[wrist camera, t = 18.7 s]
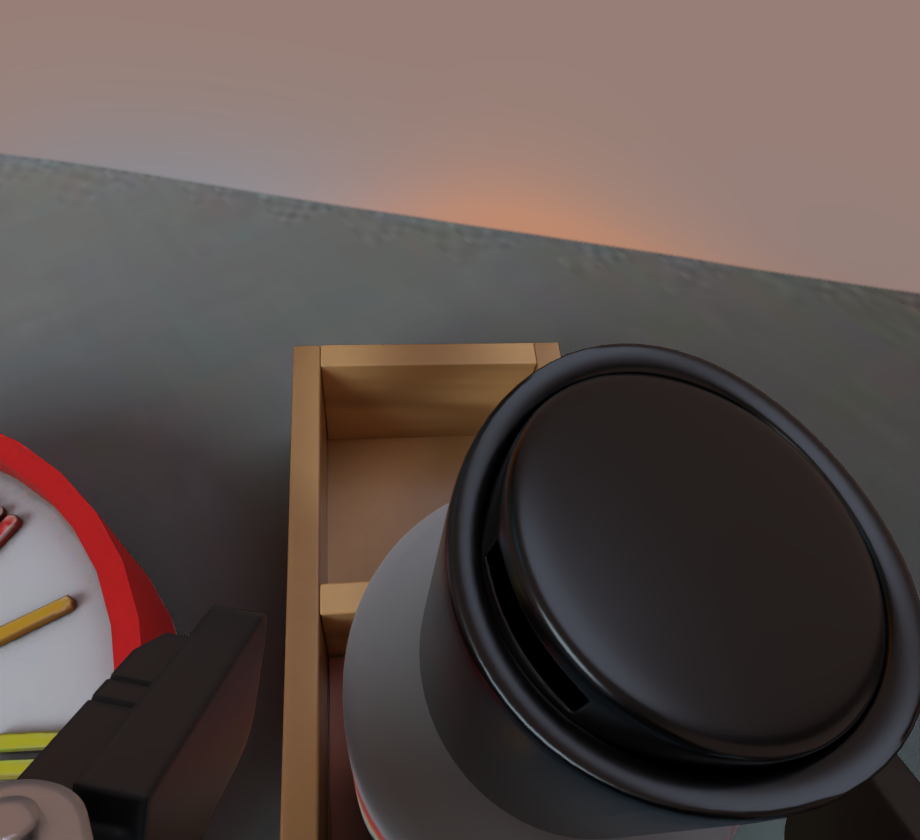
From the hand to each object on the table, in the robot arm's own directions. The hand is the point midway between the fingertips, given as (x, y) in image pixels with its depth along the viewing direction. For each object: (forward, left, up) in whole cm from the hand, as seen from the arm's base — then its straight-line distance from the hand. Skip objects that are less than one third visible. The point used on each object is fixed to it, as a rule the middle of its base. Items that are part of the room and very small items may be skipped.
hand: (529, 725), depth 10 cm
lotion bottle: (0, -1, -14) cm, 14 cm away
